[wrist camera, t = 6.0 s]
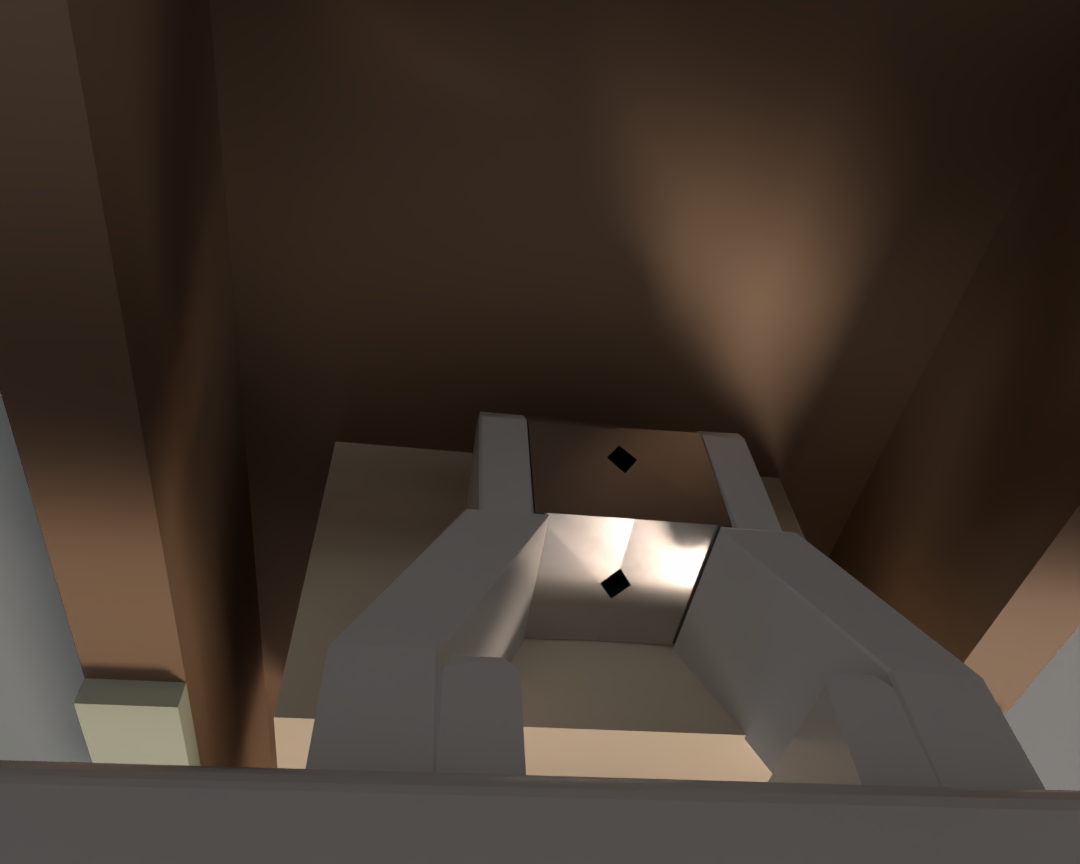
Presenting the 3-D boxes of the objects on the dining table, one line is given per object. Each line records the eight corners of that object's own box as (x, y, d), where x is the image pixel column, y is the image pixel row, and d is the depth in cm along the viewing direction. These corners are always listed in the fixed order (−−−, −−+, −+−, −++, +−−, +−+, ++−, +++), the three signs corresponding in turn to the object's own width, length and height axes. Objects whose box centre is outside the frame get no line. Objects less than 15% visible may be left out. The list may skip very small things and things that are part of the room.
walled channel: (117, -454, 7) (-406, -803, 3) (1185, -221, 9) (1864, -233, 4) (259, 848, 21) (203, 1113, 17) (659, 855, 22) (699, 1101, 18)
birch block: (335, 441, 11) (272, 718, 7) (779, 477, 11) (891, 740, 8) (335, 713, 14) (293, 975, 11) (672, 726, 15) (722, 975, 12)
